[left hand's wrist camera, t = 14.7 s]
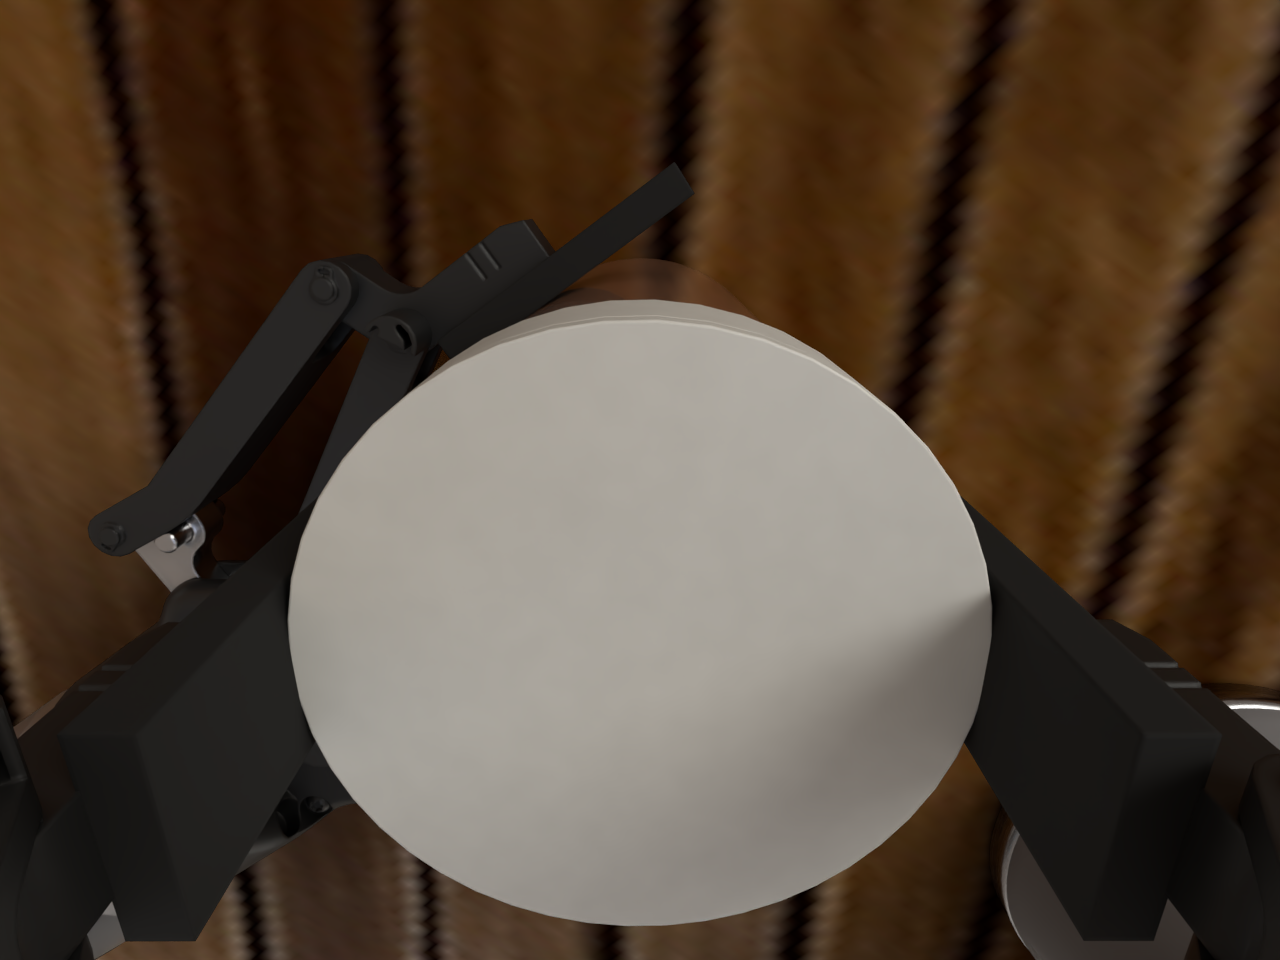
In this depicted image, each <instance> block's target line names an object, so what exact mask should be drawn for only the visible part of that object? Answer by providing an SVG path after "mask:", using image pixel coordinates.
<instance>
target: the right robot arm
mask: <svg viewBox="0 0 1280 960" xmlns="http://www.w3.org/2000/svg"><path fill="white" fill-rule="evenodd" d="M693 194H695V193H694V192H693V190H692V189H691V187H690V186H689V184H688V182H687V181H686V179H685V178H684V176H683V175H682V173H681V171H680V170H679V168H678V167H677V165H676V163H675V162H674V163H673V164H671V165H670V166H669V167H667V168H666V169H665V170H663V171H662V172H661V173H659V174H658V175H657V176H655V177H654V178H653V179H651V180H650V181H649V182H647V183H646V184H645V185H643V186H642V187H641V188H639V189H638V190H637V191H635V192H634V193H633V194H632V195H630V196H629V197H628V198H626V199H625V200H624V201H622V202H621V203H620V204H618V205H617V206H616V207H614V208H613V209H612V210H610V211H609V212H608V213H606V214H605V215H604V216H602V217H601V218H600V219H598V220H597V221H596V222H594V223H593V224H592V225H591V226H589V227H588V228H587V229H585V230H584V231H583V232H581V233H580V234H579V235H577V236H576V237H575V238H573V239H572V240H571V241H569V242H568V243H567V244H565V245H564V246H563V247H561V248H560V249H559V250H557V251H556V252H555V250H554V249H553V248H552V246H551V245H550V243H549V242H548V241H547V239H546V238H545V236H544V235H543V234H542V232H541V231H540V229H539V228H538V227H537V225H536V224H535V222H534V221H533V220H532V219H529V220H522V221H519V222H515V223H511V224H507V225H503V226H500V227H499V228H497V229H496V230H495V231H493V232H492V233H491V234H490V235H488V236H487V237H486V238H484V239H483V240H482V241H481V242H480V243H478V244H477V245H475V246H474V247H473V248H472V249H470V250H469V251H468V252H467V253H465V254H464V255H463V256H461V257H460V258H459V259H458V260H456V261H455V262H454V263H452V264H451V265H450V266H449V267H447V268H446V269H445V270H443V271H442V272H441V273H440V274H438V275H437V276H436V277H434V278H433V279H432V280H431V281H429V282H428V283H427V284H425V285H424V286H423V287H422V288H415V287H411V286H407V285H405V284H403V283H401V282H399V281H398V280H396V279H395V278H393V277H392V276H390V275H389V274H387V273H386V272H384V271H383V268H382V267H381V266H380V264H379V263H378V262H377V261H376V260H375V259H373V258H371V257H370V256H368V255H363V254H353V255H347V256H341V257H335V258H330V259H324V260H319V261H315V262H311V263H309V264H307V265H306V266H305V267H304V268H303V269H302V270H301V271H300V273H299V274H298V275H297V277H296V278H295V280H294V281H293V282H292V284H291V285H290V287H289V288H288V289H287V291H286V292H285V294H284V295H283V296H282V298H281V299H280V301H279V302H278V303H277V305H276V306H275V308H274V309H273V311H272V312H271V313H270V315H269V316H268V318H267V319H266V320H265V322H264V323H263V325H262V326H261V327H260V329H259V330H258V332H257V333H256V334H255V336H254V337H253V339H252V340H251V341H250V343H249V344H248V346H247V347H246V348H245V350H244V351H243V353H242V354H241V355H240V357H239V358H238V360H237V361H236V363H235V364H234V365H233V367H232V368H231V370H230V371H229V372H228V374H227V375H226V377H225V378H224V379H223V381H222V382H221V384H220V385H219V386H218V388H217V389H216V391H215V392H214V393H213V395H212V396H211V398H210V399H209V400H208V402H207V403H206V405H205V406H204V408H203V409H202V410H201V412H200V413H199V415H198V416H197V417H196V419H195V420H194V422H193V423H192V424H191V426H190V427H189V429H188V430H187V431H186V433H185V434H184V436H183V437H182V438H181V440H180V441H179V443H178V444H177V445H176V447H175V448H174V450H173V451H172V453H171V454H170V455H169V457H168V458H167V460H166V461H165V462H164V464H163V465H162V467H161V468H160V469H159V471H158V472H157V474H156V475H155V476H154V478H153V479H152V481H151V482H150V483H149V485H148V486H147V487H145V488H143V489H141V490H140V491H138V492H136V493H134V494H133V495H131V496H129V497H127V498H126V499H124V500H122V501H120V502H119V503H117V504H115V505H113V506H112V507H110V508H108V509H106V510H105V511H103V512H101V513H99V514H98V515H96V516H95V517H94V518H93V519H92V520H91V521H90V523H89V526H88V533H89V537H90V539H91V541H92V542H93V544H94V545H95V546H96V547H97V548H98V549H99V550H101V551H102V552H104V553H106V554H109V555H111V556H124V555H127V554H130V553H132V552H133V551H135V550H136V552H137V553H138V554H139V555H140V556H141V558H142V559H143V560H144V561H145V562H146V563H147V565H148V566H149V567H150V568H151V569H152V570H153V572H154V573H155V574H156V575H157V576H158V577H159V579H160V580H161V581H162V582H163V583H164V585H165V586H166V587H167V588H168V589H169V590H170V592H171V593H170V594H169V596H168V597H167V599H166V601H165V604H164V607H163V611H162V614H161V617H160V619H159V621H158V622H157V623H156V624H154V625H153V626H152V627H150V628H149V629H147V630H146V631H145V632H143V633H142V634H141V635H139V636H138V637H136V638H135V639H137V638H139V637H141V636H143V635H144V634H146V633H148V632H150V631H152V630H154V629H156V628H158V627H159V626H161V625H163V624H165V623H167V622H181V621H182V620H183V619H184V618H185V617H186V616H188V615H189V614H190V613H191V612H192V611H193V610H194V609H195V608H196V607H197V606H198V605H200V604H201V603H202V602H203V601H204V600H205V599H206V598H207V597H208V596H209V595H211V594H212V593H213V592H214V591H215V590H216V589H217V588H218V587H219V586H220V585H222V584H223V583H224V582H225V581H226V580H227V579H228V578H229V577H230V576H231V575H233V574H234V573H235V572H236V571H237V570H238V569H239V568H240V567H241V566H242V565H243V564H245V563H246V562H247V561H240V560H222V561H216V559H215V558H214V556H213V554H212V550H211V543H212V541H213V538H214V537H215V536H216V535H217V534H218V533H219V532H220V530H221V529H222V526H223V515H224V513H225V506H224V504H223V502H221V501H220V500H219V499H217V498H219V497H220V496H221V495H223V494H224V493H226V492H227V491H229V490H230V489H231V488H232V487H233V486H234V485H235V484H237V483H238V482H239V481H240V480H241V479H242V478H243V476H244V475H245V474H246V473H247V472H248V471H249V470H250V468H251V467H252V466H253V464H254V463H255V462H256V460H257V459H258V458H259V456H260V455H261V454H262V452H263V451H264V450H265V448H266V447H267V446H268V444H269V443H270V442H271V440H272V439H273V438H274V437H275V435H276V434H277V433H278V431H279V430H280V429H281V427H282V426H283V425H284V423H285V422H286V421H287V419H288V418H289V417H290V415H291V414H292V413H293V411H294V410H295V409H296V407H297V406H298V405H299V403H300V402H301V401H302V399H303V398H304V397H305V395H306V394H307V393H308V392H309V390H310V389H311V388H312V386H313V385H314V384H315V382H316V381H317V380H318V378H319V377H320V376H321V374H322V373H323V372H324V370H325V369H326V368H327V366H328V365H329V364H330V362H331V361H332V360H333V358H334V357H335V356H336V354H337V353H338V352H339V351H340V349H341V348H342V347H343V345H344V344H345V343H346V341H347V340H348V339H349V337H350V336H351V335H352V333H353V332H354V331H355V330H356V331H358V332H359V333H361V334H363V335H364V336H366V337H367V338H369V341H368V344H367V346H366V349H365V351H364V353H363V356H362V358H361V361H360V363H359V366H358V368H357V371H356V373H355V376H354V378H353V381H352V383H351V386H350V388H349V390H348V393H347V395H346V398H345V400H344V403H343V405H342V408H341V410H340V413H339V415H338V418H337V420H336V423H335V425H334V427H333V430H332V432H331V435H330V437H329V440H328V442H327V445H326V447H325V450H324V452H323V455H322V457H321V459H320V462H319V464H318V467H317V469H316V472H315V474H314V477H313V479H312V482H311V484H310V487H309V489H308V492H307V494H306V496H305V499H304V501H303V504H302V506H301V509H300V511H299V513H301V512H302V511H303V510H304V509H305V508H306V507H307V506H308V505H309V504H310V503H312V502H313V501H314V500H315V499H316V498H317V497H318V496H319V495H320V494H321V493H322V491H323V489H324V488H325V486H326V485H327V483H328V481H329V480H330V478H331V477H332V475H333V473H334V472H335V470H336V469H337V467H338V465H339V464H340V462H341V461H342V459H343V458H344V457H345V456H346V454H347V453H348V452H349V451H350V450H351V449H352V448H353V446H354V445H355V444H356V443H357V442H358V441H359V439H360V438H361V437H362V436H363V435H364V434H365V432H366V431H367V430H368V429H369V428H370V427H371V426H372V424H373V423H375V422H376V421H377V420H378V419H379V418H380V417H381V416H383V415H384V414H385V413H386V412H387V411H388V410H390V409H391V408H392V407H393V406H394V405H395V404H397V403H398V402H399V401H400V400H401V399H402V398H404V397H405V396H406V395H407V394H408V393H409V392H411V391H412V390H413V389H414V388H416V387H417V386H418V385H419V384H420V383H422V382H423V381H424V380H425V379H427V378H428V377H429V376H430V375H431V374H432V372H433V369H434V367H435V365H436V363H437V360H438V358H439V356H440V354H441V351H442V349H443V350H444V352H445V353H446V354H447V355H448V357H449V358H450V359H452V358H454V357H455V356H457V355H458V354H460V353H461V352H463V351H465V350H466V349H468V348H469V347H471V346H472V345H474V344H476V343H477V342H479V341H480V340H482V339H483V338H485V337H488V336H490V335H492V334H494V333H496V332H499V331H501V330H503V329H505V328H507V327H510V326H512V325H514V324H516V323H518V322H521V321H523V320H524V319H526V318H527V317H528V316H530V315H531V314H533V313H534V312H535V311H537V310H538V309H539V308H541V307H542V306H543V305H545V304H546V303H547V302H549V301H550V300H551V299H553V298H554V297H555V296H557V295H558V294H560V293H561V292H562V291H564V290H565V289H566V288H568V287H569V286H570V285H572V284H573V283H574V282H576V281H577V280H578V279H580V278H581V277H582V276H584V275H585V274H587V273H588V272H589V271H591V270H592V269H593V268H595V267H596V266H597V265H599V264H600V263H601V262H603V261H604V260H605V259H607V258H608V257H609V256H611V255H612V254H614V253H615V252H616V251H618V250H619V249H620V248H622V247H623V246H624V245H626V244H627V243H628V242H630V241H631V240H632V239H634V238H635V237H636V236H638V235H639V234H641V233H642V232H643V231H645V230H646V229H647V228H649V227H650V226H651V225H653V224H654V223H655V222H657V221H658V220H659V219H661V218H662V217H663V216H665V215H666V214H668V213H669V212H670V211H672V210H673V209H674V208H676V207H677V206H678V205H680V204H681V203H682V202H684V201H685V200H686V199H688V198H689V197H690V196H692V195H693ZM135 639H134V640H135ZM132 641H133V640H132ZM124 647H125V646H124ZM124 647H123V648H124ZM121 649H122V648H121ZM121 649H120V650H121ZM120 650H119V651H120ZM119 651H117V652H116V653H115V654H117V653H118V652H119ZM115 654H113V655H112V656H111V657H109V658H108V659H106V660H105V661H104V662H102V663H101V664H100V665H98V666H97V667H95V668H94V669H93V670H91V671H90V672H89V673H87V674H86V675H85V676H83V677H82V678H81V679H79V680H78V681H76V682H75V683H74V684H73V685H72V686H71V687H70V688H69V689H67V690H65V691H63V692H61V693H60V694H58V695H57V696H56V697H54V698H53V699H52V700H50V701H49V702H47V703H46V704H45V705H43V706H42V707H41V708H39V709H38V710H36V711H35V712H34V713H32V714H31V715H30V716H28V717H27V718H25V719H24V720H23V721H21V722H20V723H19V724H17V725H16V726H14V727H13V728H14V731H15V734H16V736H17V739H18V738H19V737H20V736H21V735H22V734H24V733H25V732H26V731H27V730H28V729H29V728H31V727H32V726H33V725H34V724H35V723H36V722H38V721H39V720H40V719H41V718H42V717H43V716H45V715H46V714H47V713H48V712H49V711H50V710H52V709H53V708H54V707H55V706H56V705H57V704H58V703H60V702H61V701H62V700H63V699H64V698H65V697H67V696H68V695H69V694H70V693H71V692H72V691H78V689H79V685H81V684H82V683H83V682H84V681H85V680H86V679H88V678H89V677H90V676H91V675H92V674H93V673H95V672H96V671H101V670H102V666H103V665H104V664H105V663H106V662H107V661H108V660H110V659H111V658H112V657H113V656H114V655H115ZM355 803H356V802H355V801H354V800H353V798H352V797H351V796H350V794H349V793H348V791H347V790H346V789H345V787H344V786H343V785H342V783H341V782H340V780H339V779H338V778H337V776H336V775H335V774H334V772H333V771H332V769H331V768H330V766H329V764H328V763H327V761H326V759H325V757H324V755H323V753H322V752H321V750H320V748H319V746H318V744H317V742H315V743H314V745H313V747H312V748H311V750H310V752H309V753H308V755H307V757H306V758H305V760H304V762H303V763H302V765H301V767H300V768H299V770H298V772H297V773H296V775H295V776H294V778H293V780H292V781H291V783H290V785H289V786H288V788H287V790H286V791H285V793H284V795H283V796H282V798H281V800H280V801H279V803H278V805H277V806H276V808H275V810H274V811H273V813H272V815H271V816H270V818H269V820H268V821H267V823H266V825H265V826H264V828H263V830H262V831H261V833H260V835H259V836H258V838H257V840H256V841H255V843H254V845H253V846H252V848H251V850H250V851H249V853H248V855H247V856H246V858H245V860H244V861H243V863H242V865H241V866H240V868H239V870H238V871H237V873H236V875H237V874H238V873H240V872H242V871H243V870H245V869H246V868H248V867H250V866H251V865H253V864H255V863H256V862H258V861H260V860H261V859H263V858H265V857H266V856H268V855H269V854H271V853H273V852H274V851H276V850H278V849H279V848H281V847H283V846H284V845H286V844H287V843H289V842H291V841H292V840H294V839H295V838H297V837H298V836H300V835H301V834H303V833H304V832H305V831H307V830H308V829H310V828H311V827H312V826H313V825H315V824H316V823H317V822H319V821H320V820H321V819H322V818H324V817H325V816H326V815H327V814H329V813H330V812H331V811H333V810H334V809H336V808H338V807H341V806H344V805H349V804H355ZM87 935H88V938H89V941H90V944H91V946H92V949H93V955H94V960H95V959H97V958H99V957H100V956H102V955H104V954H106V953H107V952H109V951H111V950H112V949H114V948H116V947H117V946H119V945H120V944H122V943H124V942H125V939H124V936H123V933H122V930H121V927H120V924H119V921H118V918H117V915H116V912H115V909H114V906H113V903H112V902H111V903H110V905H109V906H108V907H107V909H106V910H105V911H104V913H103V914H102V915H101V917H100V918H99V919H98V921H97V922H96V923H95V925H94V926H93V927H92V928H91V930H90V931H89V932H88V934H87Z"/></svg>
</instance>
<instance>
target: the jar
mask: <svg viewBox="0 0 1280 960" xmlns="http://www.w3.org/2000/svg"><path fill="white" fill-rule="evenodd" d="M612 300H664V301H673V302H681V303H690V304H699V305H703V306H707V307H711V308H715V309H719V310H723V311H727V312H731V313H735V314H739V315H743V316H746V317H748V318H751V319H753V320H756V321H758V322H761V321H759V320H758V319H757V318H756V317H755V316H754V315H753V314H752V313H751V312H750V311H749V310H748V309H747V308H746V307H745V306H744V305H743V304H742V303H741V302H740V301H739V300H738V299H737V298H736V297H735V296H733V295H732V294H731V293H730V292H729V291H728V290H727V289H726V288H725V287H723V286H722V285H720V284H719V283H717V282H716V281H715V280H713V279H712V278H710V277H708V276H706V275H704V274H702V273H700V272H698V271H696V270H694V269H692V268H689V267H686V266H683V265H680V264H677V263H674V262H669V261H663V260H658V259H643V258H636V259H623V260H617V261H612V262H608V263H603V264H600V265H597V266H596V267H595V268H593V269H592V270H591V271H589V272H588V273H587V274H585V275H584V276H582V277H581V278H580V279H578V280H577V281H576V282H574V283H573V284H572V285H570V286H569V287H568V288H566V289H565V290H564V291H562V292H561V293H560V294H558V295H557V296H555V297H554V298H553V299H551V300H550V301H549V302H547V303H546V304H545V305H543V306H542V307H541V308H539V309H538V310H537V311H535V312H534V313H533V314H531V315H530V316H528V317H527V318H526V319H529V318H532V317H536V316H539V315H542V314H546V313H549V312H552V311H556V310H559V309H562V308H566V307H572V306H579V305H585V304H591V303H598V302H604V301H612ZM526 319H524V320H526ZM761 323H762V322H761Z"/></svg>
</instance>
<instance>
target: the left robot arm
mask: <svg viewBox="0 0 1280 960" xmlns="http://www.w3.org/2000/svg"><path fill="white" fill-rule="evenodd" d="M319 496H320V495H319ZM319 496H318V497H319ZM318 497H317V498H316V499H315V500H314V501H313V502H312V503H310V504H309V505H308V506H307V507H306V508H305V509H304V510H303V511H302V512H301V513H299V514H298V515H297V516H296V517H295V518H294V519H293V520H292V521H291V522H290V523H288V524H287V525H286V526H285V527H284V528H283V529H282V530H281V531H280V532H279V533H278V534H276V535H275V536H274V537H273V538H272V539H271V540H270V541H269V542H268V543H267V544H265V545H264V546H263V547H262V548H261V549H260V550H259V551H258V552H257V553H256V554H254V555H253V556H252V557H251V558H250V559H249V560H248V561H247V562H246V563H245V564H243V565H242V566H241V567H240V568H239V569H238V570H237V571H236V572H235V573H234V574H233V575H231V576H230V577H229V578H228V579H227V580H226V581H225V582H224V583H223V584H222V585H220V586H219V587H218V588H217V589H216V590H215V591H214V592H213V593H212V594H211V595H209V596H208V597H207V598H206V599H205V600H204V601H203V602H202V603H201V604H200V605H198V606H197V607H196V608H195V609H194V610H193V611H192V612H191V613H190V614H189V615H188V616H186V617H185V618H184V619H183V620H182V621H181V622H167V623H165V624H163V625H161V626H159V627H158V628H156V629H154V630H152V631H150V632H148V633H146V634H144V635H143V636H141V637H139V638H137V639H135V640H133V641H131V642H129V643H128V644H127V645H126V646H125V647H124V648H122V649H121V650H120V651H119V652H118V653H117V654H115V655H114V656H113V657H112V658H111V659H110V660H108V661H107V662H106V663H105V664H104V665H103V666H102V670H101V671H96V672H95V673H93V674H92V675H91V676H90V677H89V678H88V679H86V680H85V681H84V682H83V683H82V684H81V685H79V689H78V691H72V692H71V693H70V694H69V695H68V696H67V697H65V698H64V699H63V700H62V701H61V702H60V703H58V704H57V705H56V706H55V707H54V708H53V709H52V710H50V711H49V712H48V713H47V714H46V715H45V716H43V717H42V718H41V719H40V720H39V721H38V722H36V723H35V724H34V725H33V726H32V727H31V728H29V729H28V730H27V731H26V732H25V733H24V734H22V735H21V736H20V737H19V738H18V739H17V736H16V734H15V731H14V728H13V725H12V722H11V720H10V717H9V714H8V711H7V708H6V706H5V703H4V700H3V697H2V695H0V960H94V955H93V949H92V946H91V944H90V941H89V938H88V935H87V934H88V932H89V931H90V930H91V928H92V927H93V926H94V925H95V923H96V922H97V921H98V919H99V918H100V917H101V915H102V914H103V913H104V911H105V910H106V909H107V907H108V906H109V905H110V903H111V902H112V903H113V906H114V909H115V912H116V915H117V918H118V921H119V924H120V927H121V930H122V933H123V936H124V939H125V941H196V939H197V938H198V936H199V934H200V933H201V931H202V929H203V928H204V926H205V924H206V923H207V921H208V919H209V918H210V916H211V914H212V913H213V911H214V909H215V908H216V906H217V904H218V903H219V901H220V899H221V898H222V896H223V894H224V893H225V891H226V889H227V888H228V886H229V884H230V883H231V881H232V880H233V878H234V876H235V875H236V873H237V871H238V870H239V868H240V866H241V865H242V863H243V861H244V860H245V858H246V856H247V855H248V853H249V851H250V850H251V848H252V846H253V845H254V843H255V841H256V840H257V838H258V836H259V835H260V833H261V831H262V830H263V828H264V826H265V825H266V823H267V821H268V820H269V818H270V816H271V815H272V813H273V811H274V810H275V808H276V806H277V805H278V803H279V801H280V800H281V798H282V796H283V795H284V793H285V791H286V790H287V788H288V786H289V785H290V783H291V781H292V780H293V778H294V776H295V775H296V773H297V772H298V770H299V768H300V767H301V765H302V763H303V762H304V760H305V758H306V757H307V755H308V753H309V752H310V750H311V748H312V747H313V745H314V743H315V742H316V741H315V739H314V737H313V735H312V733H311V730H310V728H309V725H308V722H307V720H306V717H305V714H304V712H303V709H302V706H301V702H300V698H299V693H298V688H297V683H296V678H295V673H294V668H293V662H292V657H291V651H290V645H289V636H288V621H287V618H288V607H289V596H290V585H291V577H292V573H293V569H294V565H295V561H296V557H297V553H298V549H299V545H300V541H301V537H302V535H303V532H304V530H305V528H306V525H307V523H308V521H309V518H310V516H311V514H312V511H313V509H314V507H315V504H316V502H317V500H318ZM960 497H961V496H960ZM961 499H962V501H963V503H964V505H965V507H966V509H967V511H968V514H969V516H970V518H971V520H972V522H973V524H974V527H975V530H976V533H977V536H978V540H979V543H980V546H981V549H982V553H983V556H984V559H985V562H986V567H987V574H988V581H989V587H990V594H991V601H992V637H991V643H990V649H989V655H988V660H987V665H986V671H985V676H984V681H983V686H982V692H981V696H980V701H979V705H978V709H977V712H976V715H975V719H974V722H973V724H972V726H971V728H970V730H969V732H968V734H967V736H966V738H965V740H964V743H965V745H966V746H967V748H968V750H969V751H970V753H971V754H972V756H973V758H974V759H975V761H976V763H977V764H978V766H979V768H980V769H981V771H982V773H983V774H984V776H985V778H986V779H987V781H988V783H989V784H990V786H991V788H992V789H993V791H994V793H995V794H996V796H997V798H998V799H999V801H1000V803H1001V804H1002V808H1001V811H1000V813H999V815H998V817H997V820H996V824H995V827H994V830H993V834H992V839H991V844H990V871H991V876H992V881H993V885H994V888H995V891H996V893H997V896H998V898H999V900H1000V902H1001V904H1002V906H1003V908H1004V909H1005V911H1006V913H1007V915H1008V917H1009V919H1010V921H1011V923H1012V925H1013V927H1014V929H1015V931H1016V933H1017V935H1018V936H1019V938H1020V939H1021V941H1022V942H1023V943H1024V945H1025V946H1026V947H1027V948H1028V949H1029V951H1030V952H1031V954H1032V955H1033V957H1034V958H1035V959H1036V960H1280V691H1277V690H1273V689H1269V688H1265V687H1259V686H1253V685H1244V684H1231V683H1222V684H1201V683H1200V682H1199V681H1198V680H1197V679H1196V678H1195V677H1193V676H1192V675H1191V674H1190V673H1189V672H1188V671H1186V670H1185V669H1184V668H1178V663H1177V662H1176V661H1175V660H1174V659H1172V658H1171V657H1170V656H1169V655H1168V654H1166V653H1165V652H1164V651H1163V650H1162V649H1161V648H1159V647H1158V646H1157V645H1156V644H1155V643H1154V642H1152V641H1151V640H1150V639H1148V638H1146V637H1144V636H1142V635H1141V634H1139V633H1137V632H1135V631H1133V630H1131V629H1129V628H1127V627H1125V626H1123V625H1122V624H1120V623H1118V622H1116V621H1114V620H1096V619H1095V618H1094V617H1093V616H1092V615H1091V614H1089V613H1088V612H1087V611H1086V610H1085V609H1084V608H1083V607H1082V606H1081V605H1080V604H1078V603H1077V602H1076V601H1075V600H1074V599H1073V598H1072V597H1071V596H1070V595H1069V594H1068V593H1066V592H1065V591H1064V590H1063V589H1062V588H1061V587H1060V586H1059V585H1058V584H1057V583H1055V582H1054V581H1053V580H1052V579H1051V578H1050V577H1049V576H1048V575H1047V574H1046V573H1044V572H1043V571H1042V570H1041V569H1040V568H1039V567H1038V566H1037V565H1036V564H1035V563H1033V562H1032V561H1031V560H1030V559H1029V558H1028V557H1027V556H1026V555H1025V554H1024V553H1023V552H1021V551H1020V550H1019V549H1018V548H1017V547H1016V546H1015V545H1014V544H1013V543H1012V542H1010V541H1009V540H1008V539H1007V538H1006V537H1005V536H1004V535H1003V534H1002V533H1001V532H999V531H998V530H997V529H996V528H995V527H994V526H993V525H992V524H991V523H990V522H989V521H987V520H986V519H985V518H984V517H983V516H982V515H981V514H980V513H979V512H978V511H976V510H975V509H974V508H973V507H972V506H971V505H970V504H969V503H968V502H967V501H965V500H964V499H963V498H962V497H961Z"/></svg>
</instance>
